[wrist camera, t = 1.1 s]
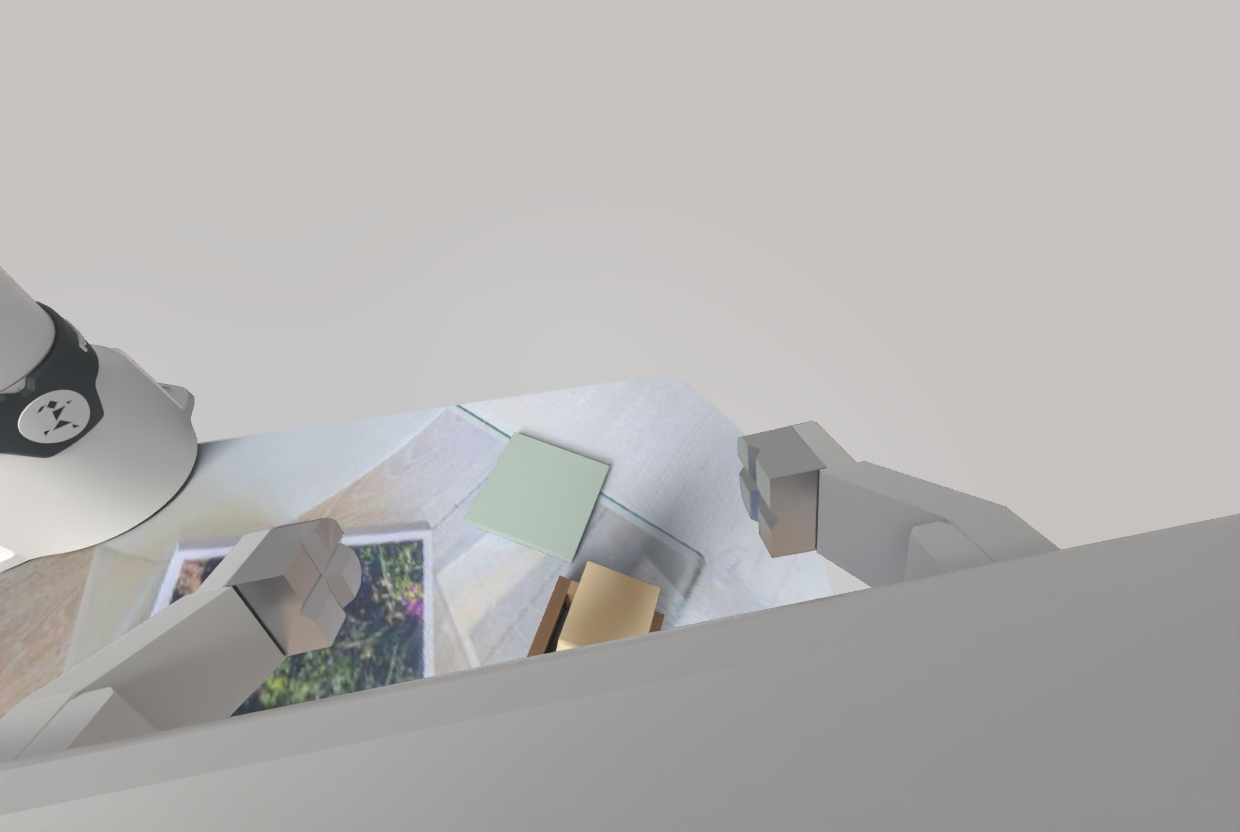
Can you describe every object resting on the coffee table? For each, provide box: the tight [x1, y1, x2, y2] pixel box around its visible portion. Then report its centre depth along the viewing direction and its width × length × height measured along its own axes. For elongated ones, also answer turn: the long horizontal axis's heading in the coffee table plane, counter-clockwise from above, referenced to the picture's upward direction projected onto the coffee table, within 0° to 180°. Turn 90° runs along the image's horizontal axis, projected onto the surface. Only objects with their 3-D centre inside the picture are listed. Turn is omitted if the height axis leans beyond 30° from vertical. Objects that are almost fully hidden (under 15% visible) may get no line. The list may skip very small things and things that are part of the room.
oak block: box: [556, 561, 661, 651], centre depth 33 cm, size 4×4×14 cm
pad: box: [465, 432, 609, 563], centre depth 46 cm, size 10×10×1 cm
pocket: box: [527, 576, 664, 657], centre depth 37 cm, size 8×8×4 cm
